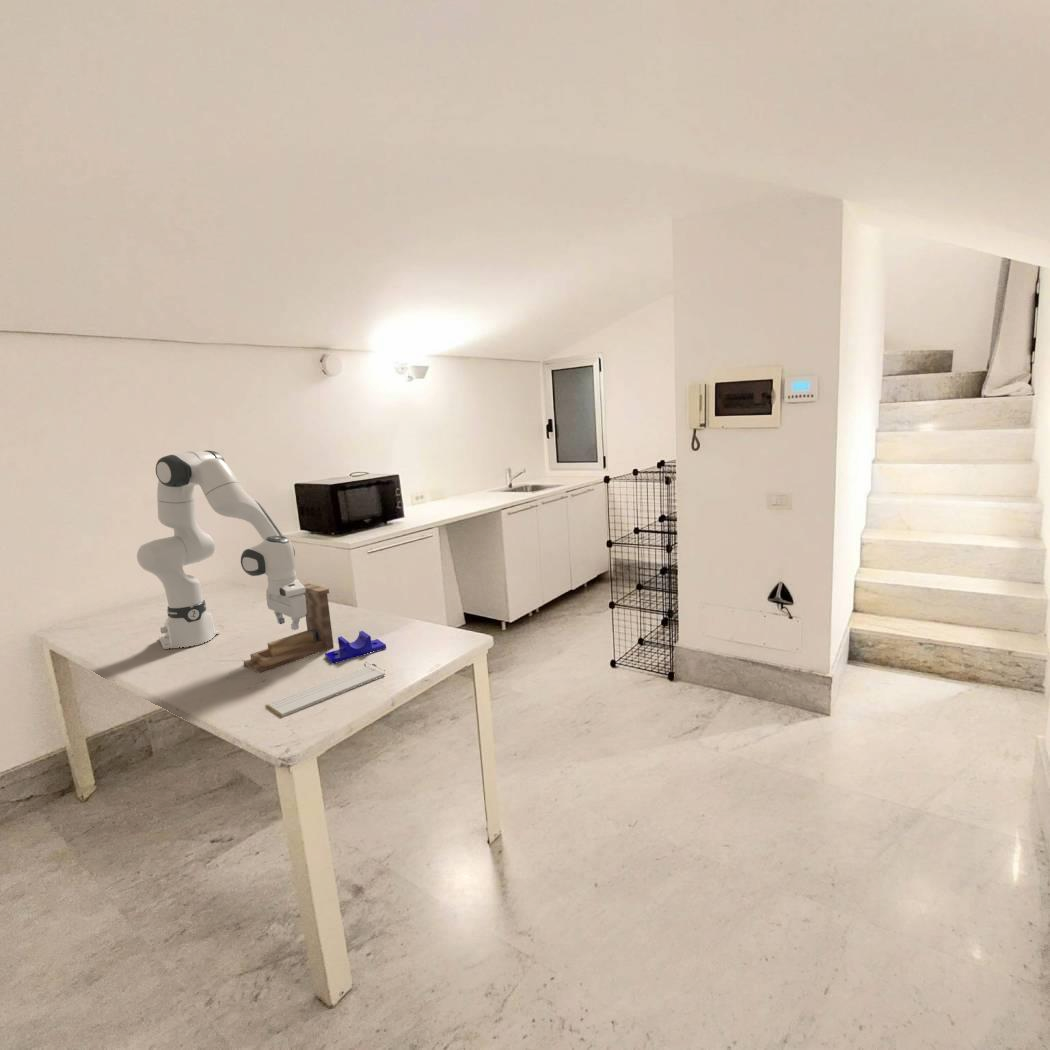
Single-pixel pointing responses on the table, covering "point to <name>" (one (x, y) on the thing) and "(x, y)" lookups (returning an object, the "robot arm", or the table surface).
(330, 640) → the wooden l-shaped stand
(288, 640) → the oak rail piece
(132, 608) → the table surface
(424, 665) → the table surface
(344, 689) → the baseboard molding
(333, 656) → the mounting bracket
